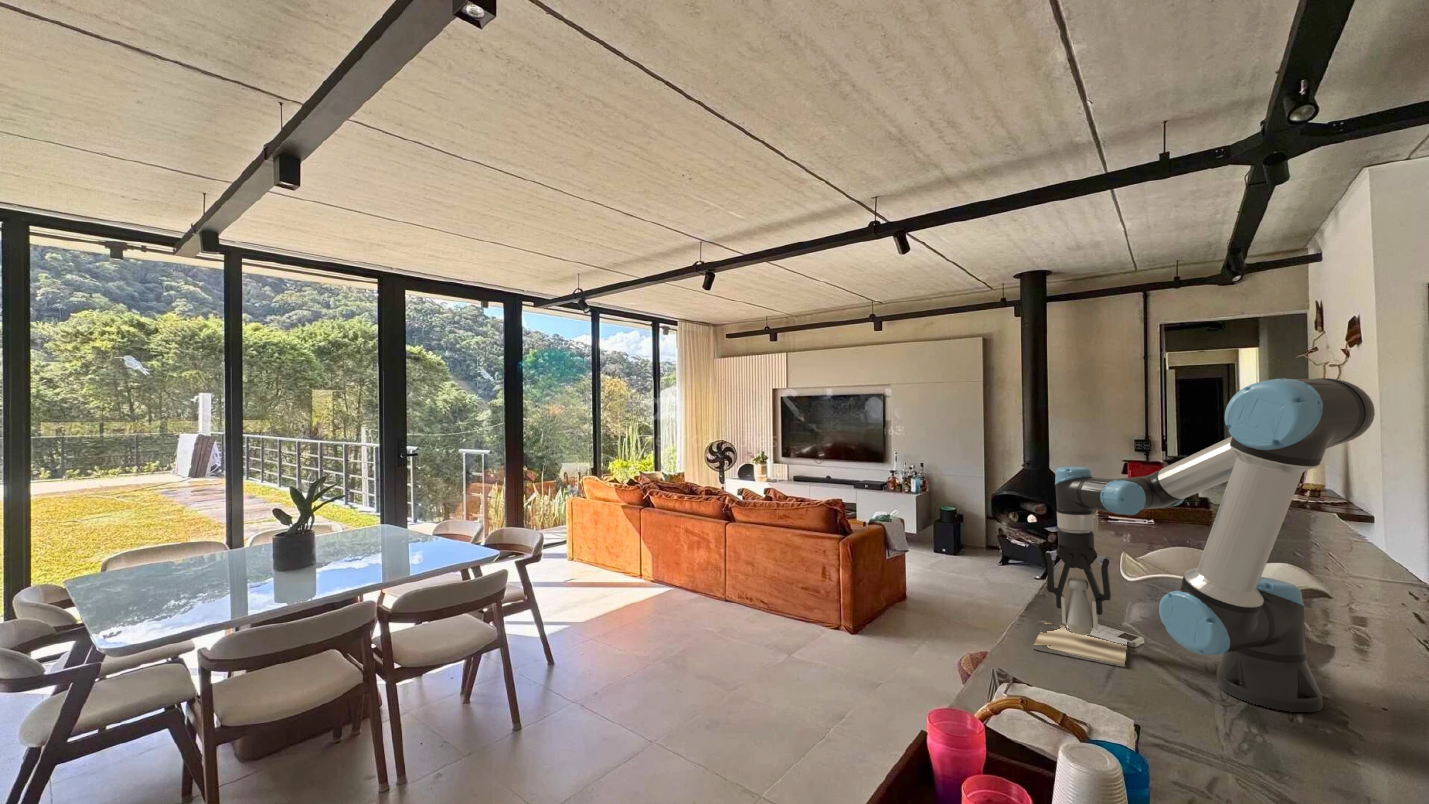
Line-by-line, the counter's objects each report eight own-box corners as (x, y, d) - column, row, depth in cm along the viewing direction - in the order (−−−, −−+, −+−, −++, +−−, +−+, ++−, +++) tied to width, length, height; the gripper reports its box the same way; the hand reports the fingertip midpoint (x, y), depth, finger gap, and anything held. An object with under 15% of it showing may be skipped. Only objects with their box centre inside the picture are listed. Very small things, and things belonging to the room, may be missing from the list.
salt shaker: (1093, 638, 135) (1090, 583, 136) (1065, 633, 139) (1062, 580, 139) (1095, 630, 140) (1092, 577, 140) (1067, 625, 143) (1065, 574, 144)
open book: (1125, 668, 126) (1124, 662, 126) (1033, 650, 137) (1033, 645, 138) (1128, 641, 141) (1127, 636, 141) (1045, 626, 152) (1044, 622, 152)
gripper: (1122, 530, 137) (1127, 627, 136) (1034, 523, 149) (1039, 612, 148) (1121, 536, 131) (1126, 637, 131) (1029, 528, 143) (1034, 621, 142)
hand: (1080, 624), depth 139 cm, fingers closed on salt shaker, 6 cm apart
